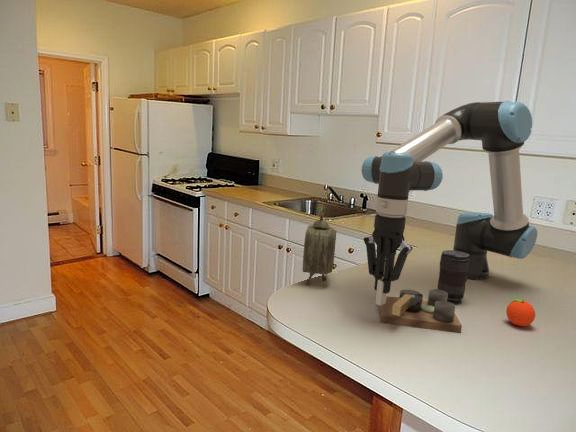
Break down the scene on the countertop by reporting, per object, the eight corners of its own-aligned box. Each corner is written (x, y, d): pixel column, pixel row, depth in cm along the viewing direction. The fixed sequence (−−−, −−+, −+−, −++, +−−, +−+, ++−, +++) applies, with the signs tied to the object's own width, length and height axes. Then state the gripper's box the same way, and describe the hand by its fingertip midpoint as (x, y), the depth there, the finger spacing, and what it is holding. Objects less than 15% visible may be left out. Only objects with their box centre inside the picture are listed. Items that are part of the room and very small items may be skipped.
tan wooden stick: (402, 301, 120) (404, 287, 119) (423, 306, 117) (425, 292, 116) (383, 318, 107) (385, 302, 107) (406, 325, 104) (408, 309, 103)
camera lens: (440, 293, 135) (446, 248, 132) (466, 300, 130) (473, 253, 127) (431, 299, 129) (437, 252, 126) (458, 307, 124) (465, 258, 121)
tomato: (496, 322, 115) (500, 297, 114) (505, 316, 120) (509, 292, 119) (528, 333, 110) (533, 307, 108) (536, 326, 115) (541, 301, 113)
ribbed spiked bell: (306, 272, 147) (312, 201, 142) (332, 275, 146) (339, 204, 141) (301, 286, 133) (306, 208, 128) (329, 289, 132) (336, 211, 127)
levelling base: (448, 309, 122) (451, 290, 121) (460, 333, 107) (464, 310, 106) (377, 301, 125) (380, 282, 123) (380, 322, 110) (383, 301, 109)
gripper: (360, 211, 107) (351, 299, 111) (407, 220, 98) (395, 315, 103) (376, 209, 112) (367, 292, 117) (421, 217, 104) (410, 308, 108)
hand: (380, 303), depth 110 cm, fingers closed
